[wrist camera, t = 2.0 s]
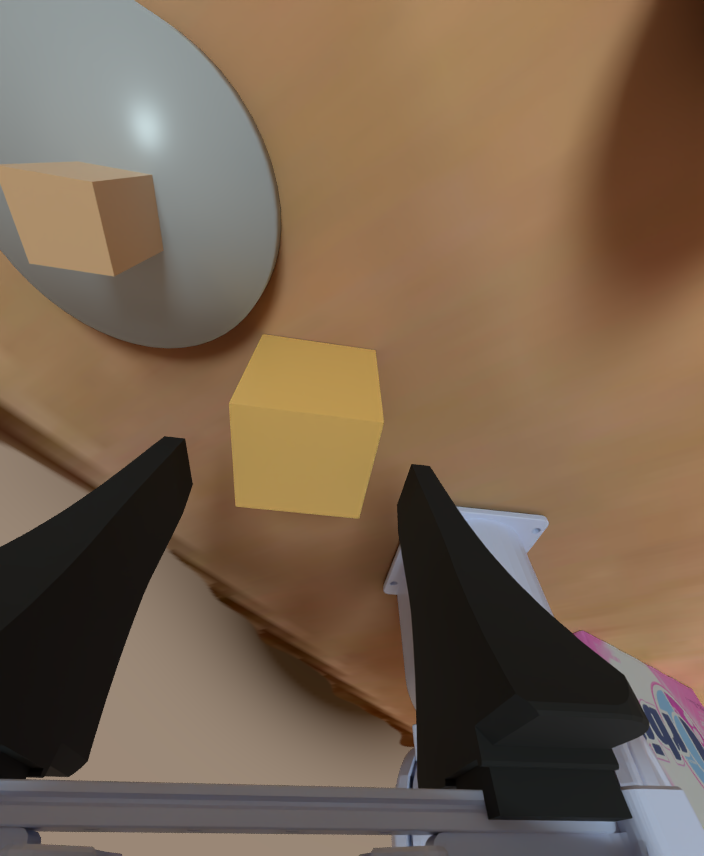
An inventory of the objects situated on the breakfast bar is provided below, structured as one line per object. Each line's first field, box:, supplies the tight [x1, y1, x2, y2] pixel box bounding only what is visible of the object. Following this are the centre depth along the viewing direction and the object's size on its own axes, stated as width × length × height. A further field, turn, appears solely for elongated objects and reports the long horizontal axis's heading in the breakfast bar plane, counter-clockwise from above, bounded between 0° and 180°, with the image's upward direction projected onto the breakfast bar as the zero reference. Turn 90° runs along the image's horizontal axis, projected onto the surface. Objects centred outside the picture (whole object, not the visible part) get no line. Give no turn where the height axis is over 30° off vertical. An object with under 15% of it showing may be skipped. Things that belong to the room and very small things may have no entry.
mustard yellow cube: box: [229, 334, 384, 519], centre depth 14 cm, size 5×5×5 cm
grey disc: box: [0, 0, 281, 348], centre depth 10 cm, size 9×9×4 cm
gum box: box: [573, 631, 704, 829], centre depth 32 cm, size 24×8×14 cm, turn 51°
